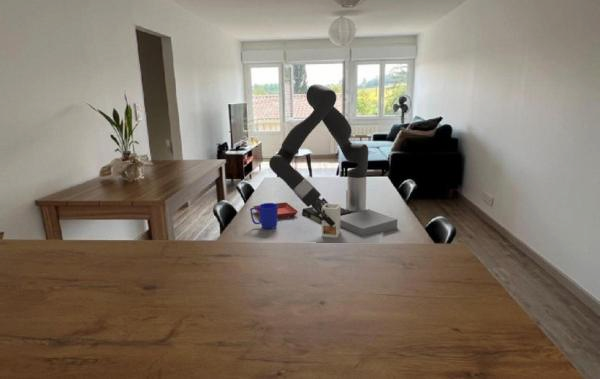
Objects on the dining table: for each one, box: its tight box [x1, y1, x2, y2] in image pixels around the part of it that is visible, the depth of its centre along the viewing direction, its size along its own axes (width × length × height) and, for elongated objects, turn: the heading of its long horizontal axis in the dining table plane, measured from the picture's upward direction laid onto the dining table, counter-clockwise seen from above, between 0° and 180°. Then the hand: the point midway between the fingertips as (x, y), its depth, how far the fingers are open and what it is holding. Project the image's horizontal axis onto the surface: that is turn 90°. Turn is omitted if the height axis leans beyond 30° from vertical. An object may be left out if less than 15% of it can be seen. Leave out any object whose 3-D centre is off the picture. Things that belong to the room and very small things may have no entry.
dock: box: [340, 209, 398, 237], centre depth 163 cm, size 18×20×4 cm
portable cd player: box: [301, 206, 352, 225], centre depth 177 cm, size 16×17×4 cm
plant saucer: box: [252, 202, 299, 220], centre depth 184 cm, size 18×18×3 cm
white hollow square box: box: [321, 203, 341, 239], centre depth 152 cm, size 6×6×13 cm
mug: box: [249, 202, 278, 230], centre depth 165 cm, size 8×12×10 cm
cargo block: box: [325, 226, 336, 234], centre depth 153 cm, size 4×4×4 cm
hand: (335, 222), depth 152 cm, fingers closed on white hollow square box, 6 cm apart
